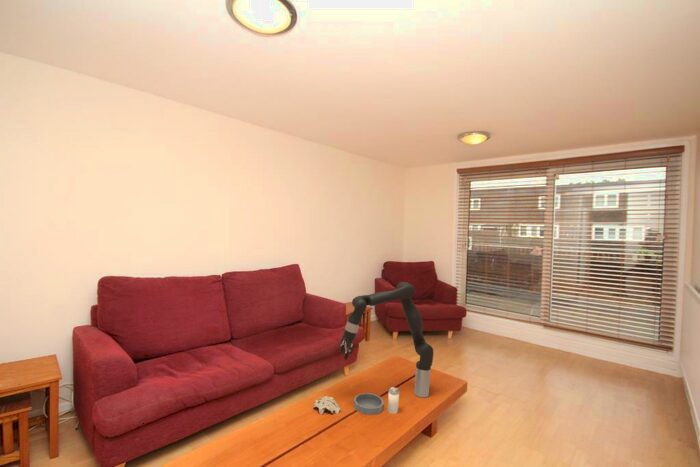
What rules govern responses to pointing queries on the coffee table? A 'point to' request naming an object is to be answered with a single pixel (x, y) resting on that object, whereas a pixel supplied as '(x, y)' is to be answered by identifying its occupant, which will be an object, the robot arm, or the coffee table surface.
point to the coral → (327, 404)
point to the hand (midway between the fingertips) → (343, 356)
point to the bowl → (368, 403)
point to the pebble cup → (393, 400)
